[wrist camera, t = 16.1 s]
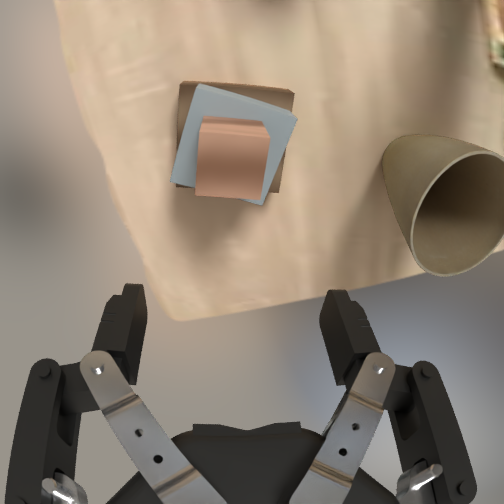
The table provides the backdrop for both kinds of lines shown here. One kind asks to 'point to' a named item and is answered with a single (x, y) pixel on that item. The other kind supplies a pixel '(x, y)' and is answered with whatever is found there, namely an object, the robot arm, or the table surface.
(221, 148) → the terracotta block
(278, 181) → the walnut base slab
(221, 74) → the table surface
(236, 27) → the table surface
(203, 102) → the grey upper slab
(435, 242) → the plant pot
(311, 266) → the table surface
